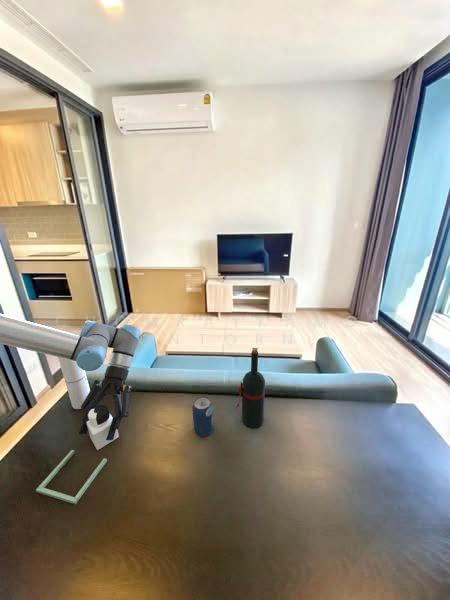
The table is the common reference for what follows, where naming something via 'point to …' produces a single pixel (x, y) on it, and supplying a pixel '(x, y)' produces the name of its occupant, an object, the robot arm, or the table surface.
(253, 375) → the wine bottle
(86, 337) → the robot arm
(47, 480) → the frame
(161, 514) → the table surface
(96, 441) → the medicine bottle
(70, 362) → the cylindrical container
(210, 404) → the soda can
